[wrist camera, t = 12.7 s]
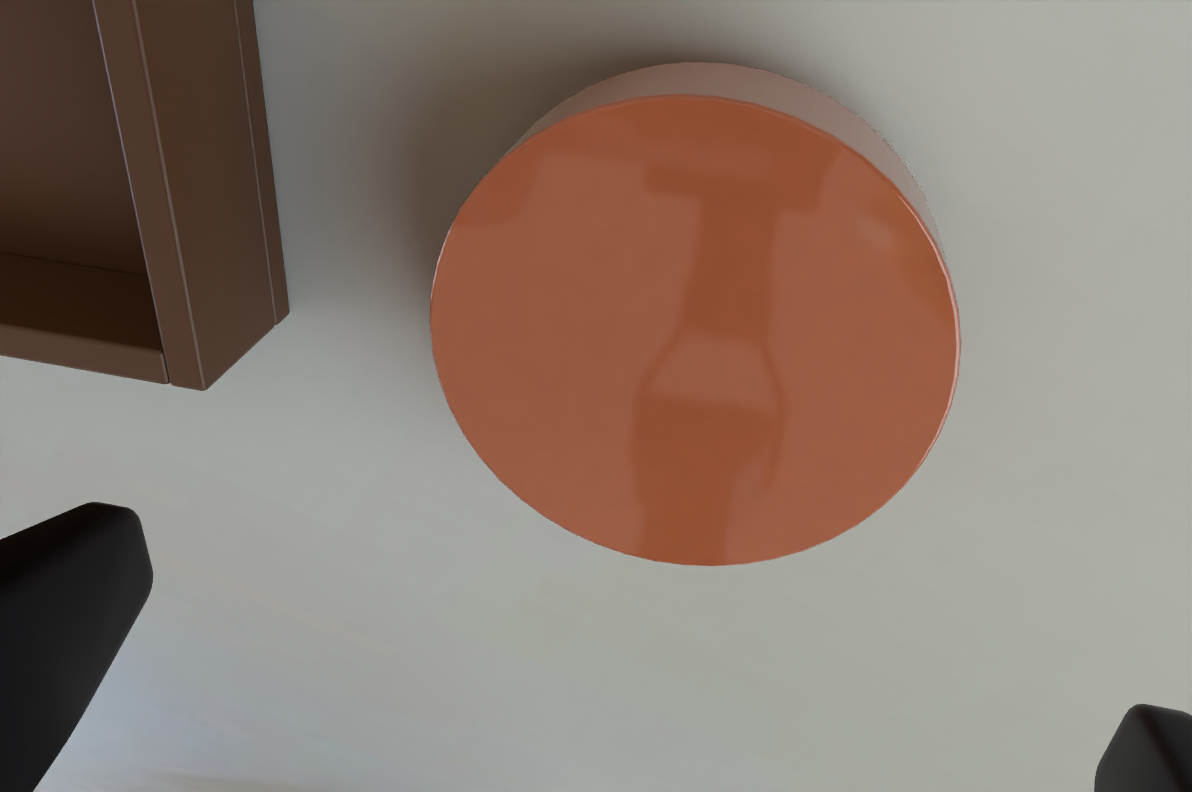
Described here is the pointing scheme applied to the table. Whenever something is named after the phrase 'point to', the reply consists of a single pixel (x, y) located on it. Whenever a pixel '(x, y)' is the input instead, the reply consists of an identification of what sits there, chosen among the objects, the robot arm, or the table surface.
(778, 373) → the puck terracotta
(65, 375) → the table surface
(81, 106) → the tray
